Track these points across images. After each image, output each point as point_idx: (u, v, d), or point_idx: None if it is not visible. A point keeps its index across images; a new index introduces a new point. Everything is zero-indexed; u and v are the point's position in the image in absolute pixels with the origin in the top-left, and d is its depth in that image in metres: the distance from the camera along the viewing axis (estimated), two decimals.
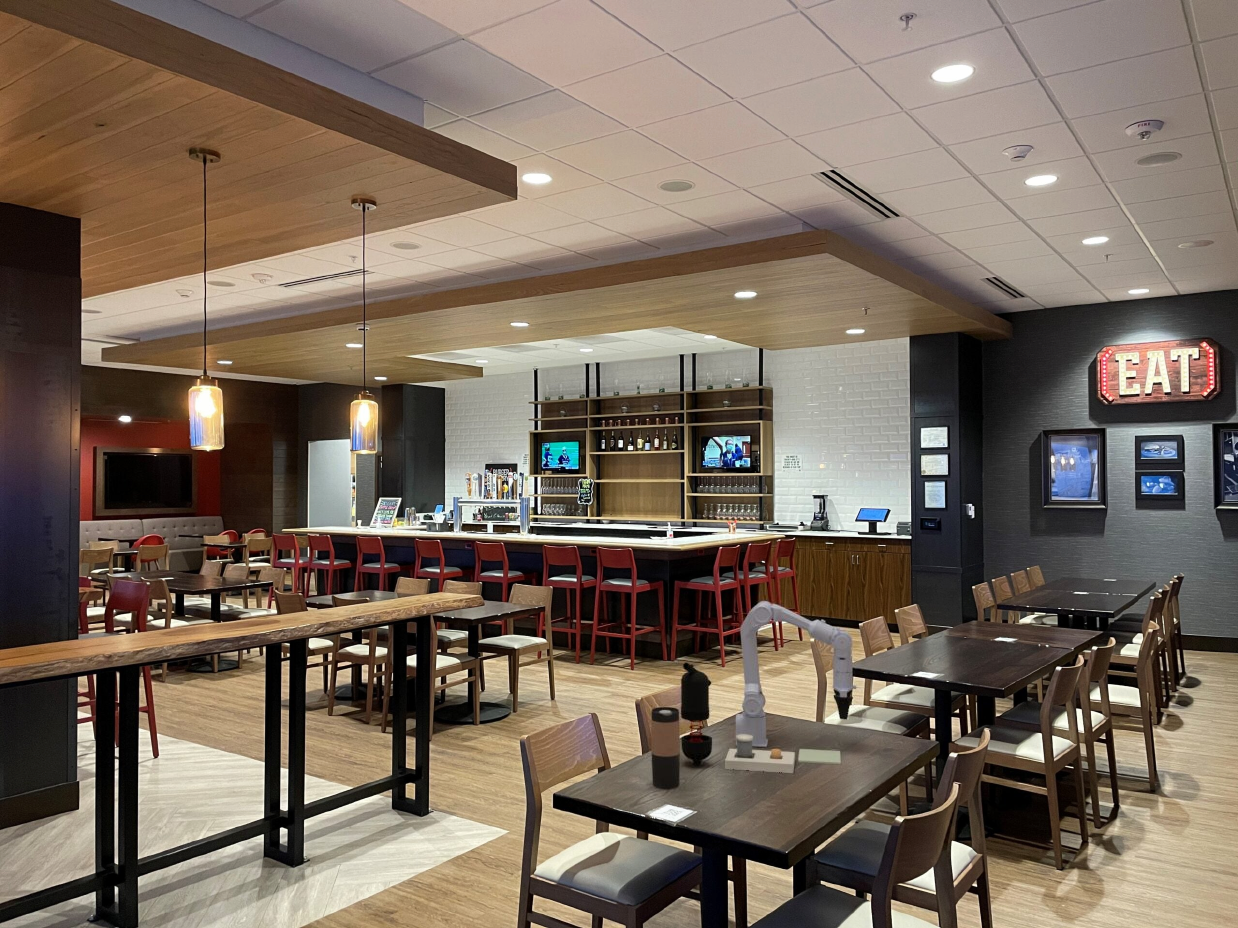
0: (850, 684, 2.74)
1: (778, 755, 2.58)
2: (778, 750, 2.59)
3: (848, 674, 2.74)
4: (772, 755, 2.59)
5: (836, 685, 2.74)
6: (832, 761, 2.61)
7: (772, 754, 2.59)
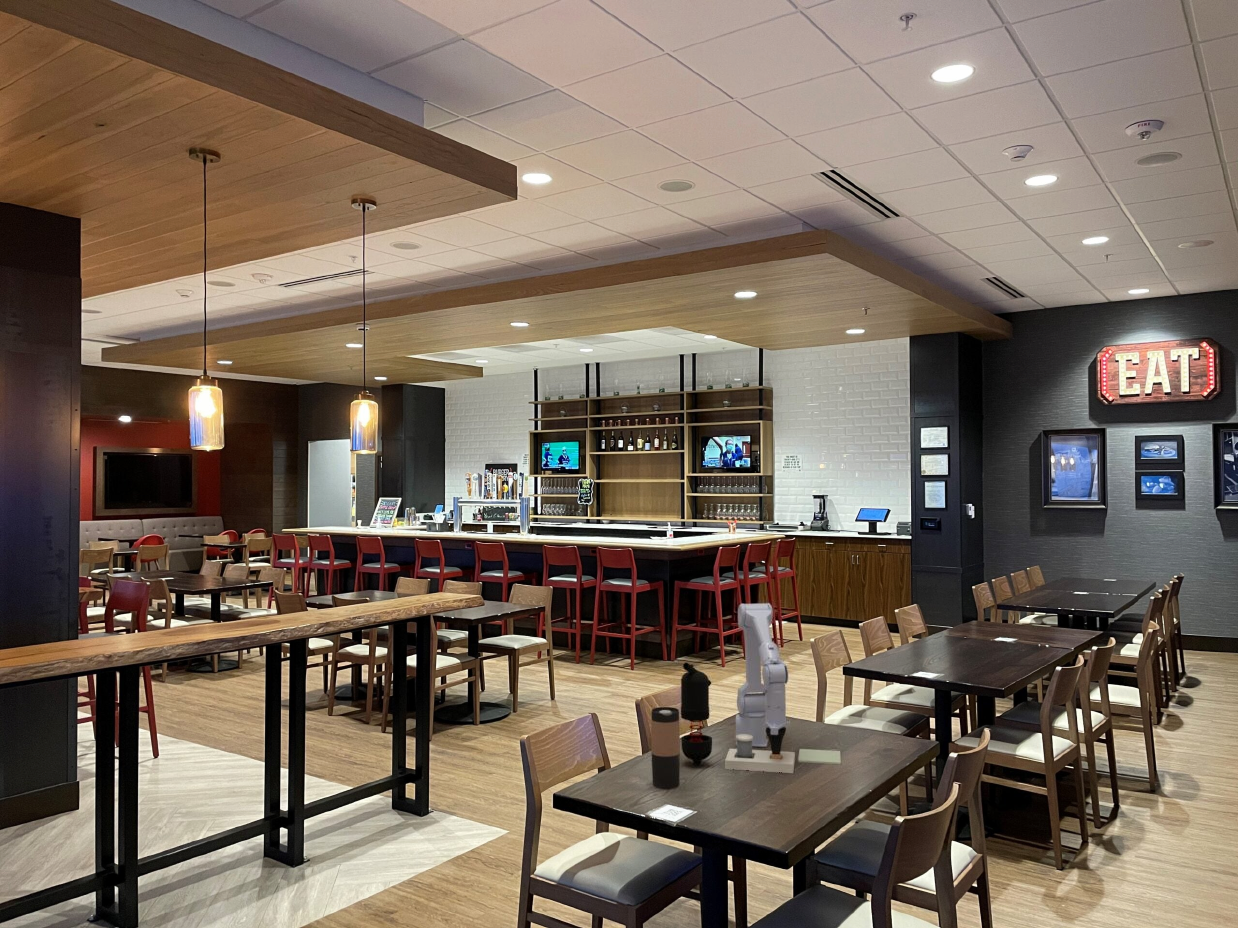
0: (783, 720, 2.57)
1: (778, 758, 2.58)
2: None
3: (780, 709, 2.57)
4: None
5: (768, 721, 2.58)
6: (832, 761, 2.61)
7: (772, 758, 2.59)
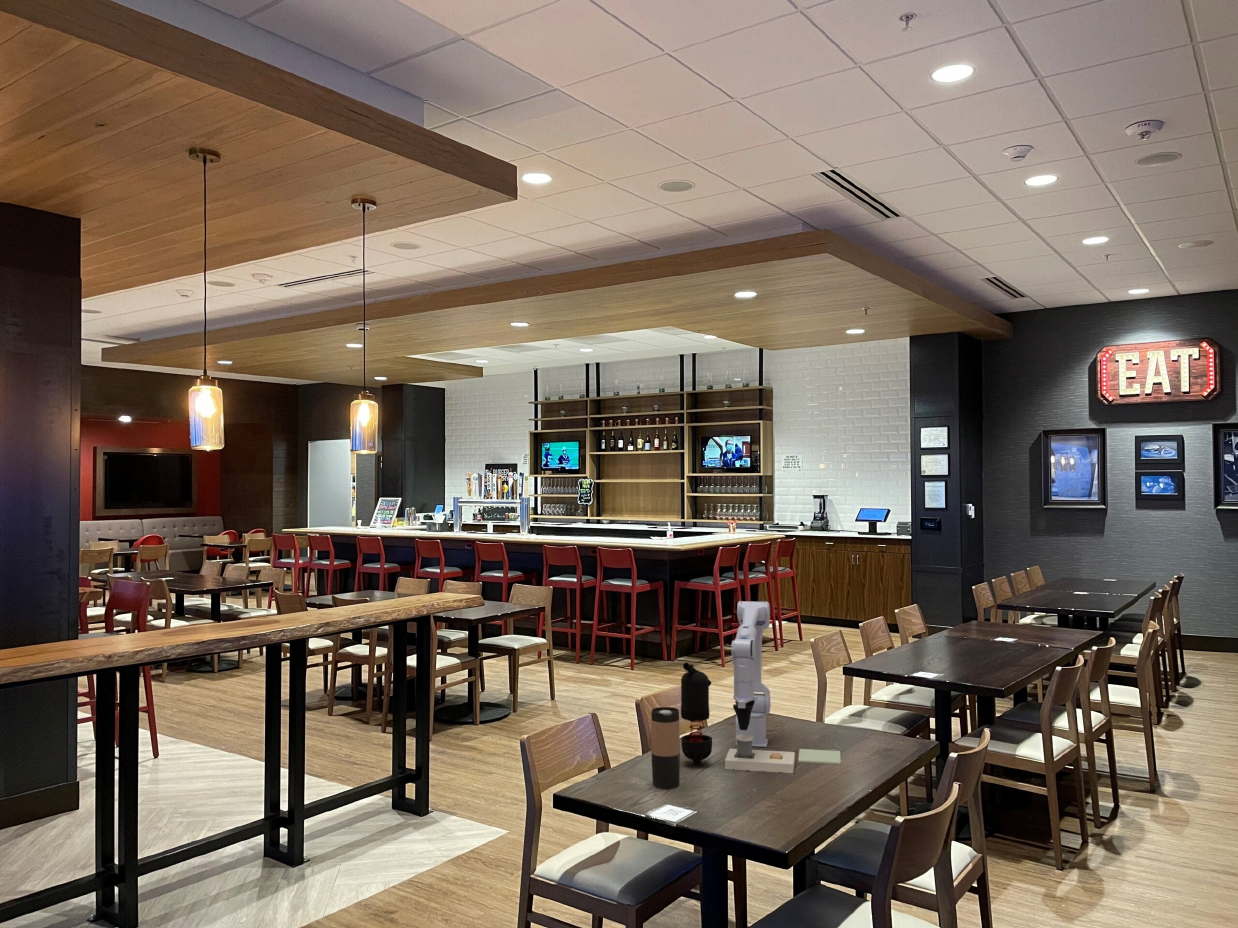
0: (751, 694, 2.60)
1: None
2: (778, 754, 2.59)
3: (748, 684, 2.59)
4: None
5: (736, 695, 2.60)
6: (832, 761, 2.61)
7: (772, 758, 2.59)
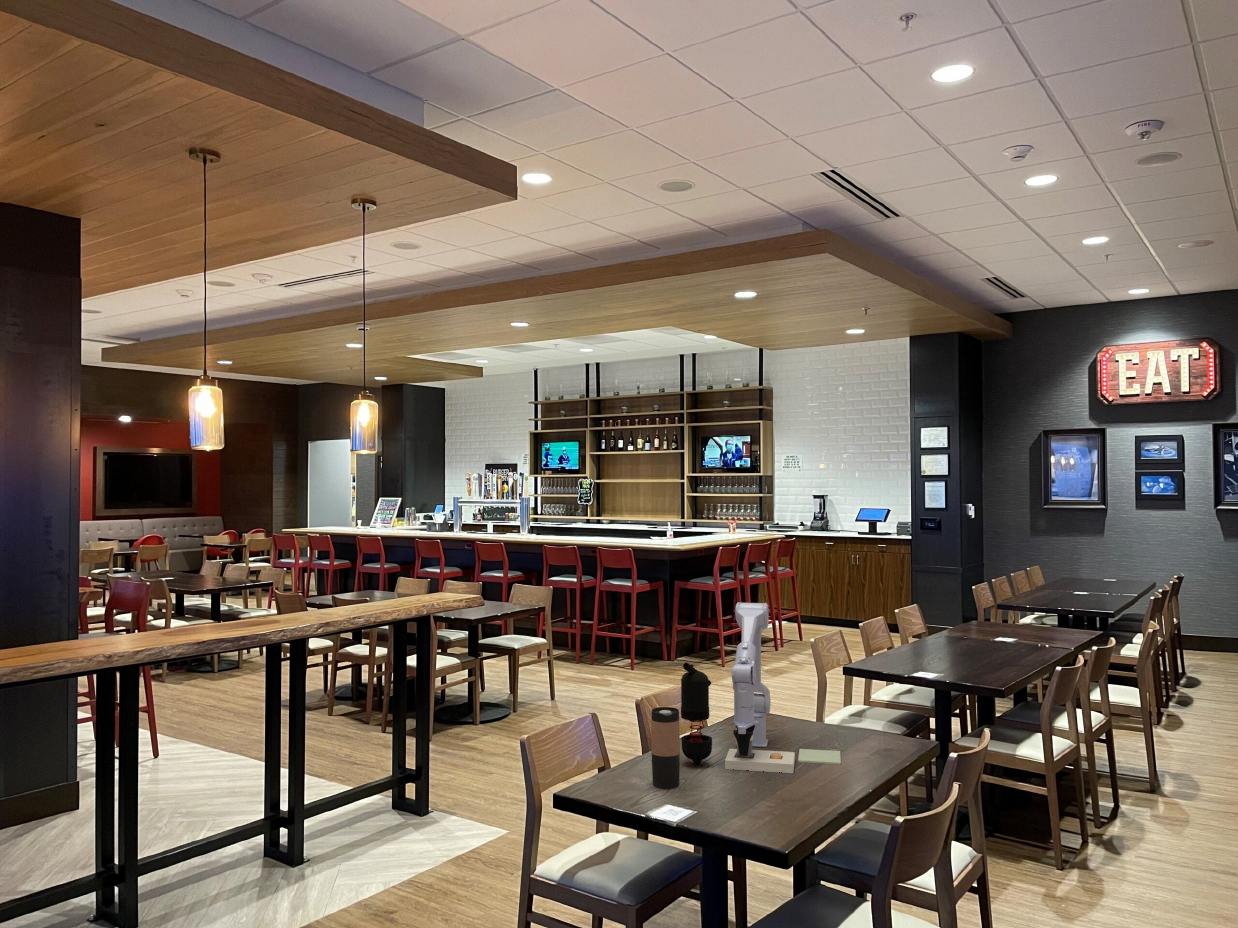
0: (751, 719, 2.60)
1: None
2: (778, 754, 2.59)
3: (749, 709, 2.59)
4: None
5: (736, 720, 2.60)
6: (832, 761, 2.61)
7: (772, 758, 2.59)
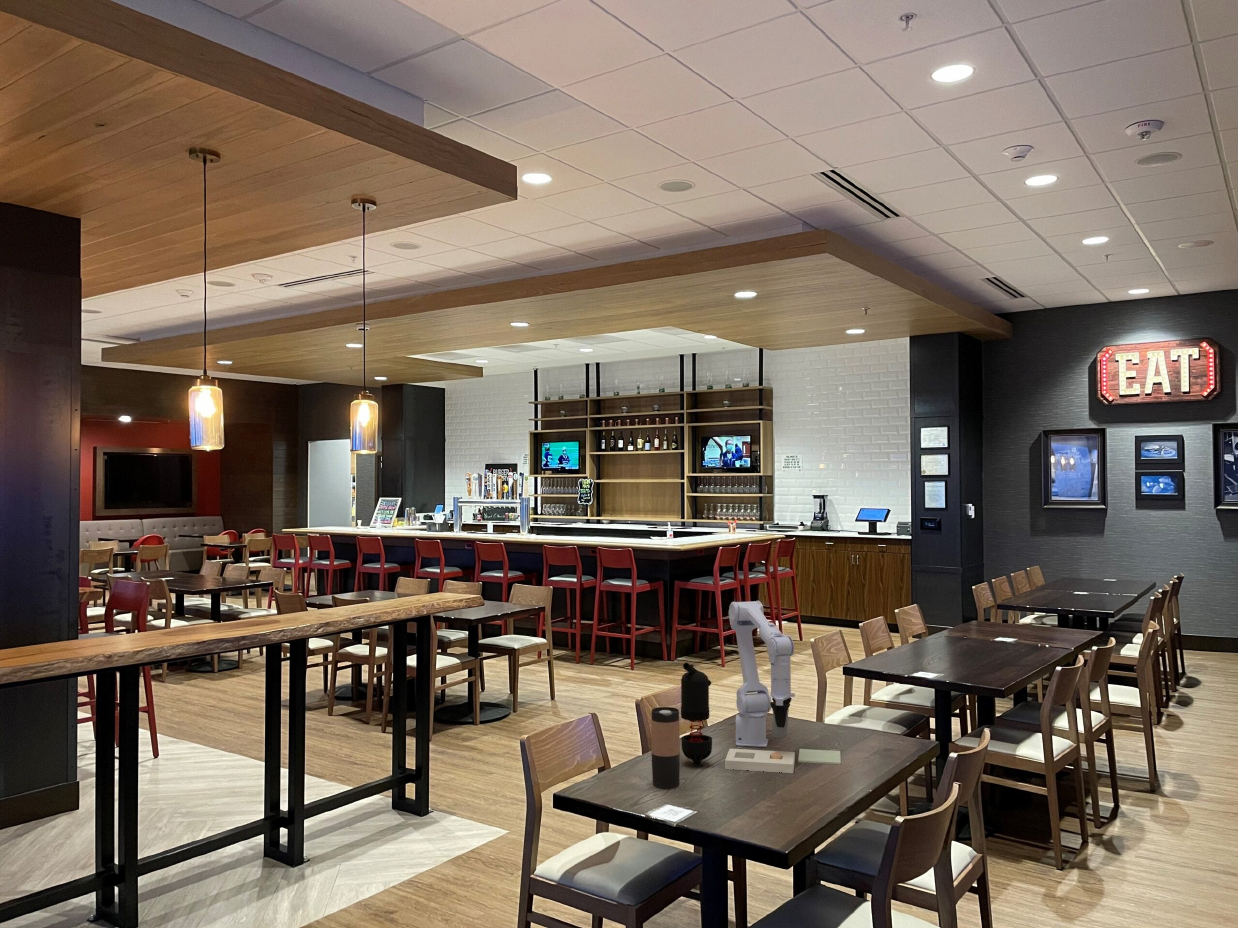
0: (788, 692, 2.63)
1: None
2: (778, 754, 2.59)
3: (786, 681, 2.62)
4: None
5: (773, 693, 2.63)
6: (832, 761, 2.61)
7: (772, 758, 2.59)
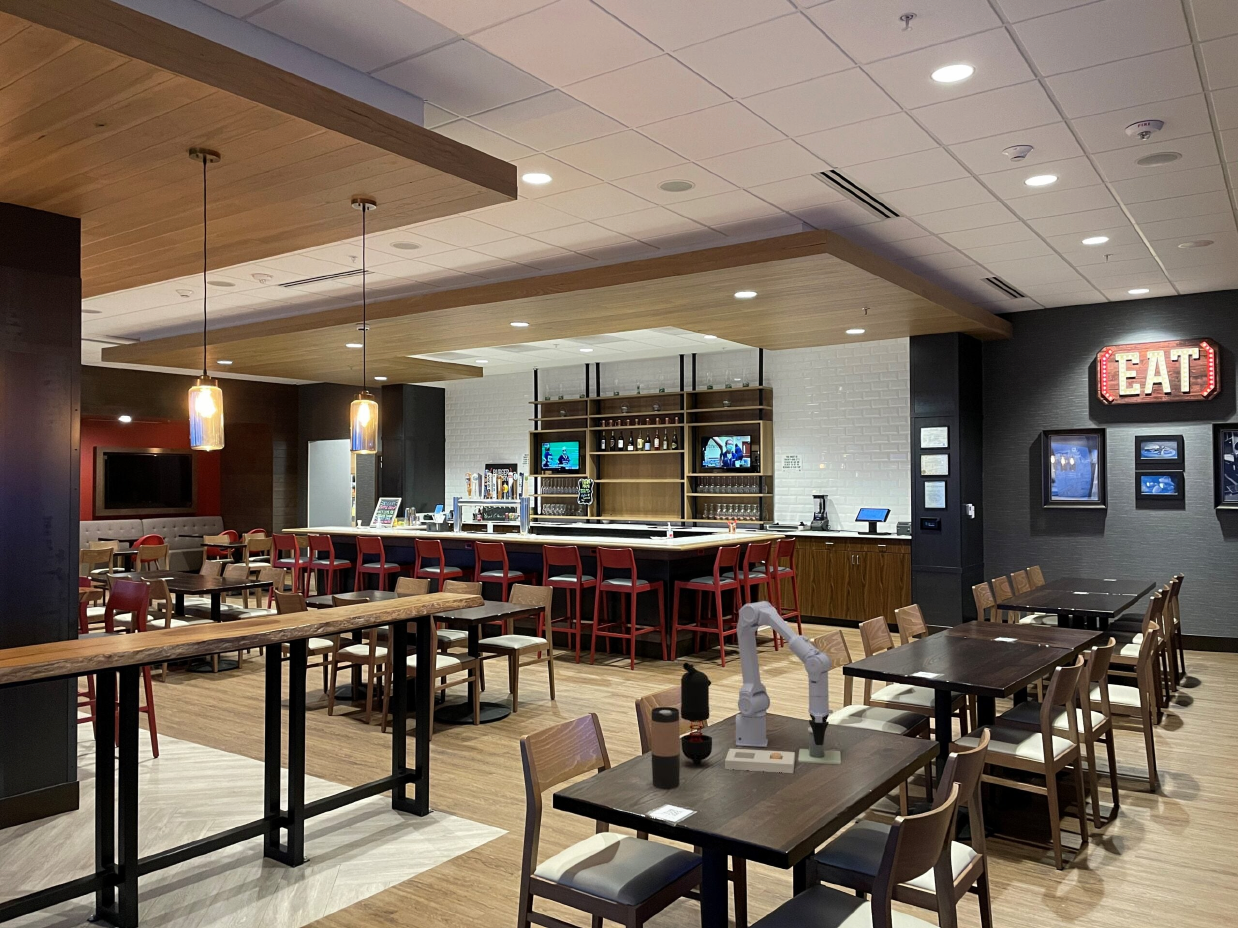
0: (826, 708, 2.65)
1: None
2: (778, 754, 2.59)
3: (824, 698, 2.65)
4: None
5: (812, 709, 2.66)
6: (832, 761, 2.61)
7: (772, 758, 2.59)
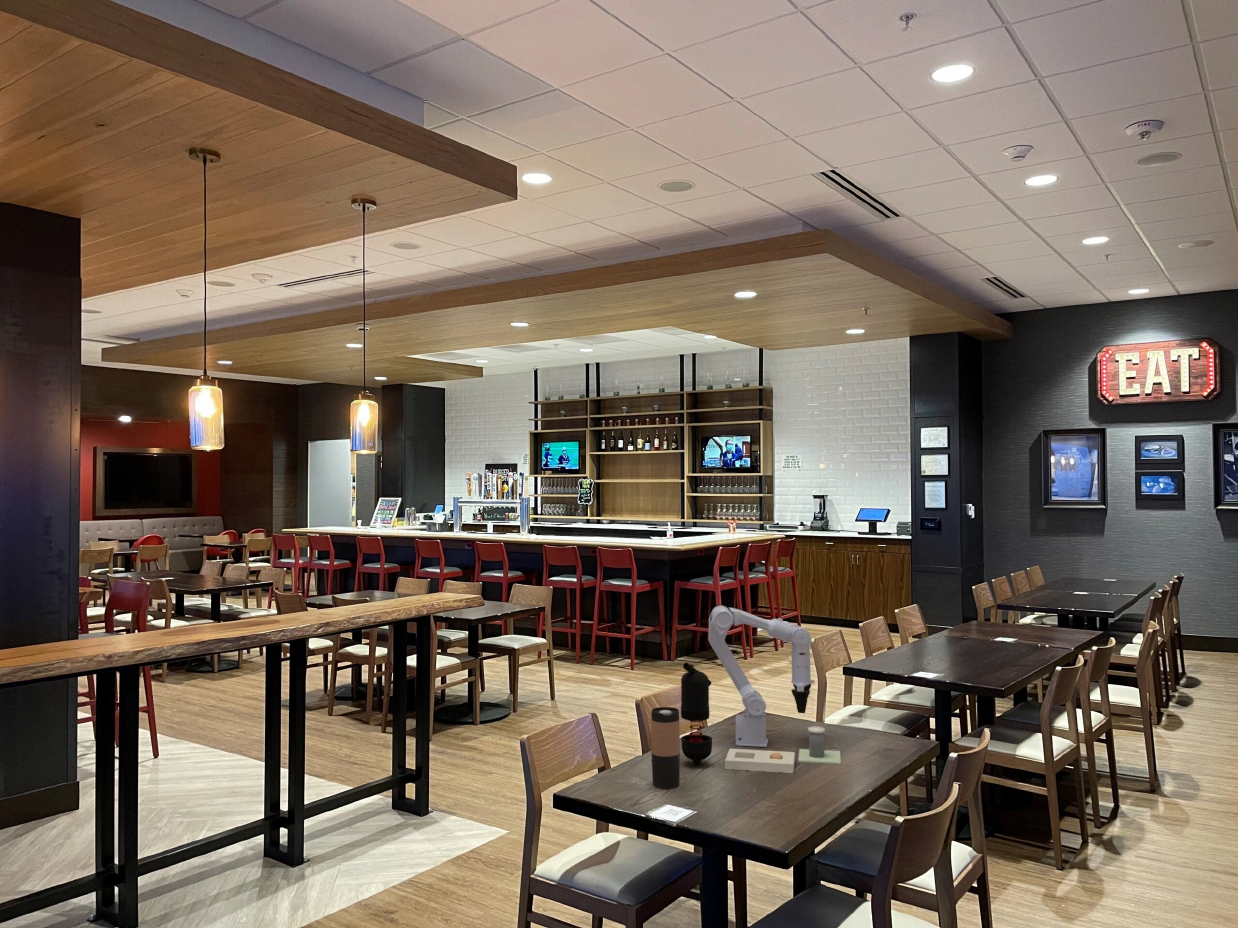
0: (808, 679, 2.81)
1: None
2: (778, 754, 2.59)
3: (806, 669, 2.80)
4: None
5: (794, 680, 2.81)
6: (832, 761, 2.61)
7: (772, 758, 2.59)
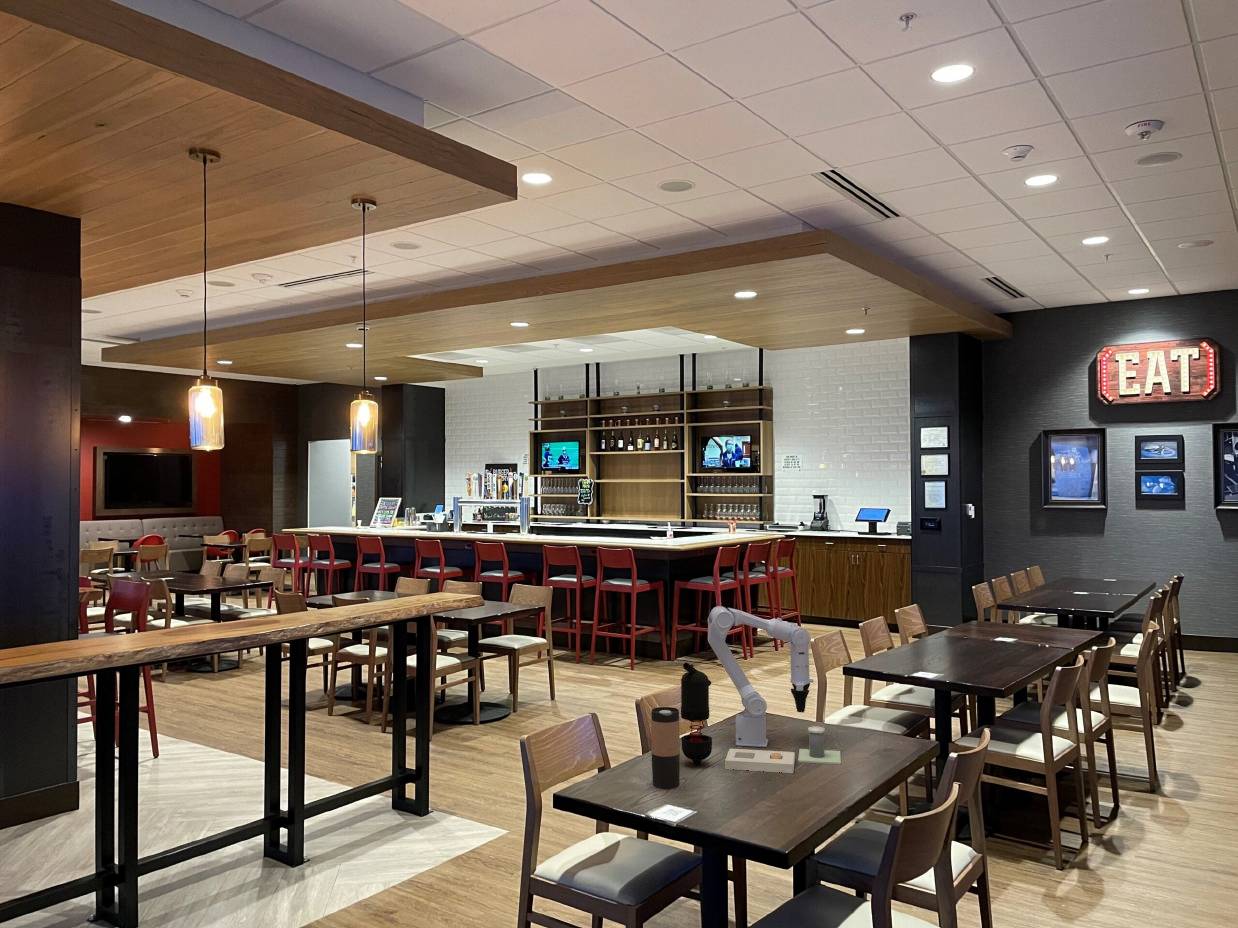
0: (807, 678, 2.82)
1: None
2: (778, 754, 2.59)
3: (805, 668, 2.81)
4: None
5: (793, 679, 2.82)
6: (832, 761, 2.61)
7: (772, 758, 2.59)
